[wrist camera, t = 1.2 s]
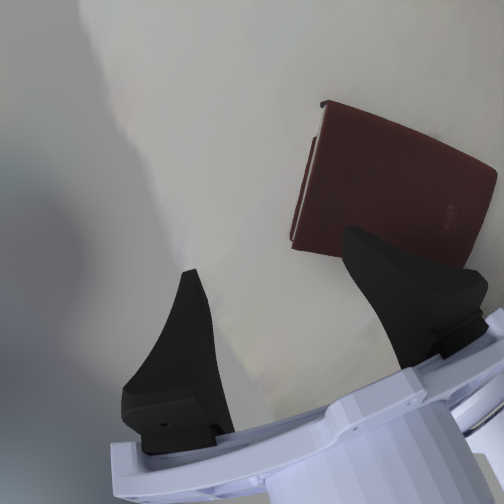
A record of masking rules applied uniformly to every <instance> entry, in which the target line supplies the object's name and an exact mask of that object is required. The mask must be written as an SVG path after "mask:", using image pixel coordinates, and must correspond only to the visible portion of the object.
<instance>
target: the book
mask: <svg viewBox="0 0 504 504" xmlns="http://www.w3.org/2000/svg"><path fill="white" fill-rule="evenodd" d="M320 104H321V106H320V107H321V108H323V113H322V117H321V122H320V126H319V131H318V134H317V136H316V137H314V138H313V141H312V146H311V150H310V154H309V159H308V162H307V165H306V169H305V174H304V178H303V181H302V185H301V190H300V196H299V199H298V202H297V206H296V210H295V214H294V218H293V223H292V227H291V231H290V240H291V241H292V242H293V244H292V247H291V248H292V249H295V250H298V251H307V252H312V253H317V254H323V255H328V256H334V257H340V258H342V257H343V228H344V227H347V226H351V225H356V226H358V227H360V228H362V229H364V230H366V231H368V232H369V233H371V234H373V235H375V236H377V237H379V238H381V239H382V240H384V241H386V242H388V243H390V244H392V245H394V246H396V247H398V248H400V249H402V250H404V251H407V252H409V253H411V254H414V255H416V256H419V257H421V258H424V259H427V260H430V261H433V262H437V263H440V264H444V265H447V266H452V267H457V268H462V269H463V267H464V265H465V263H466V261H467V259H468V257H469V255H470V253H471V251H472V248H473V246H474V243H475V240H476V238H477V236H478V234H479V231H480V229H481V226H482V224H483V221H484V218H485V215H486V213H487V210H488V207H489V204H490V201H491V198H492V195H493V191H494V188H495V184H496V180H497V174H498V173H497V172H496V170H495V169H493V168H492V167H490V166H488V165H486V164H484V163H483V162H481V161H479V160H477V159H475V158H473V157H471V156H469V155H467V154H465V153H463V152H461V151H459V150H457V149H455V148H453V147H451V146H448V145H446V144H444V143H442V142H440V141H438V140H436V139H434V138H431V137H429V136H427V135H425V134H422V133H420V132H417V131H415V130H413V129H410V128H408V127H405V126H403V125H400V124H398V123H395V122H392V121H390V120H387V119H385V118H382V117H379V116H377V115H374V114H371V113H368V112H365V111H362V110H359V109H356V108H354V107H350V106H347V105H344V104H341V103H338V102H334V101H331V100H326V101H323V102H321V103H320Z"/></svg>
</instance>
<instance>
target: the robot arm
mask: <svg viewBox="0 0 504 504" xmlns="http://www.w3.org/2000/svg"><path fill="white" fill-rule="evenodd" d="M342 260H343V262H344V264H345V266H346V268H347V270H348V272H349V274H350V276H351V277H352V279H353V280H354V282H355V283H356V284H357V286H358V287H359V289H360V290H361V292H362V293H363V294H364V296H365V297H366V299H367V300H368V301H369V303H370V304H371V306H372V307H373V309H374V310H375V312H376V314H377V315H378V317H379V319H380V321H381V323H382V325H383V327H384V329H385V331H386V333H387V335H388V338H389V340H390V342H391V344H392V347H393V349H394V351H395V354H396V356H397V359H398V362H399V364H400V367H401V370H399V371H397V372H395V373H393V374H391V375H389V376H387V377H385V378H382V379H380V380H378V381H376V382H373V383H371V384H369V385H367V386H364V387H362V388H359V389H357V390H355V391H352V392H350V393H348V394H346V395H344V396H342V397H340V398H338V399H337V400H335V401H334V402H333V403H331V404H328V405H325V406H323V407H320V408H317V409H314V410H311V411H308V412H305V413H302V414H299V415H296V416H293V417H289V418H286V419H283V420H280V421H276V422H273V423H269V424H265V425H262V426H259V427H254V428H250V429H246V430H242V431H238V432H235V430H234V427H233V423H232V420H231V417H230V413H229V410H228V406H227V403H226V399H225V395H224V391H223V388H222V383H221V379H220V375H219V371H218V366H217V361H216V353H215V345H214V335H213V325H212V317H211V313H210V308H209V304H208V299H207V297H206V294H205V292H204V289H203V286H202V284H201V281H200V278H199V276H198V273H197V271H196V269H192V270H189V271H185V272H183V273H182V275H181V279H180V283H179V287H178V291H177V294H176V297H175V300H174V303H173V306H172V309H171V312H170V314H169V316H168V319H167V322H166V324H165V326H164V328H163V330H162V333H161V334H160V336H159V338H158V340H157V342H156V344H155V346H154V347H153V349H152V351H151V352H150V354H149V355H148V357H147V358H146V360H145V361H144V363H143V364H142V366H141V367H140V368H139V370H138V371H137V372H136V374H135V375H134V376H133V377H132V378H131V379H130V380H129V382H128V383H127V384H126V385H125V386H124V387H123V393H122V400H121V418H122V420H123V422H124V423H125V424H126V425H127V426H129V427H130V428H131V429H133V430H134V431H136V432H137V433H139V434H140V435H141V441H142V443H141V442H136V441H129V442H116V443H111V463H112V480H113V493H114V496H115V497H119V498H122V499H125V500H130V501H133V502H137V503H142V504H162V503H184V502H198V501H210V500H219V499H227V498H234V497H241V496H247V495H254V494H259V493H264V492H267V493H268V496H269V499H270V503H271V504H496V502H495V499H494V497H493V495H492V493H491V490H490V488H489V486H488V484H487V481H486V479H485V477H484V475H483V473H482V471H481V469H480V467H479V465H478V463H477V461H476V459H475V457H474V455H473V453H482V454H485V456H486V458H487V460H488V462H489V463H490V465H491V467H492V469H493V471H494V473H495V475H496V477H497V479H498V481H499V483H500V485H501V487H502V489H503V491H504V405H503V406H502V407H501V408H500V409H499V410H497V411H496V412H495V413H494V414H493V415H491V417H489V418H488V419H486V420H485V421H484V422H483V423H481V424H480V425H479V426H477V427H476V428H474V429H471V430H469V429H470V428H471V427H473V426H474V425H475V424H477V423H478V422H479V421H481V420H482V419H483V418H484V417H486V416H487V415H488V414H489V413H490V412H492V411H493V410H494V409H495V408H496V407H497V406H499V405H500V404H501V403H502V402H503V401H504V310H503V309H502V308H499V309H497V310H496V311H494V312H493V313H491V314H490V315H489V316H487V318H486V319H485V320H484V319H483V318H482V316H481V315H482V314H483V312H482V310H481V309H480V308H479V307H480V305H481V303H482V301H483V299H484V297H485V295H486V292H487V289H488V282H487V281H486V280H485V279H484V278H483V277H482V275H481V274H480V273H479V272H478V271H476V270H469V269H462V268H457V267H452V266H447V265H444V264H440V263H437V262H433V261H430V260H427V259H424V258H421V257H419V256H416V255H414V254H411V253H409V252H407V251H404V250H402V249H400V248H398V247H396V246H394V245H392V244H390V243H388V242H386V241H384V240H382V239H381V238H379V237H377V236H375V235H373V234H371V233H369V232H368V231H366V230H364V229H362V228H360V227H358V226H356V225H351V226H347V227H344V228H343V257H342Z"/></svg>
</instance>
